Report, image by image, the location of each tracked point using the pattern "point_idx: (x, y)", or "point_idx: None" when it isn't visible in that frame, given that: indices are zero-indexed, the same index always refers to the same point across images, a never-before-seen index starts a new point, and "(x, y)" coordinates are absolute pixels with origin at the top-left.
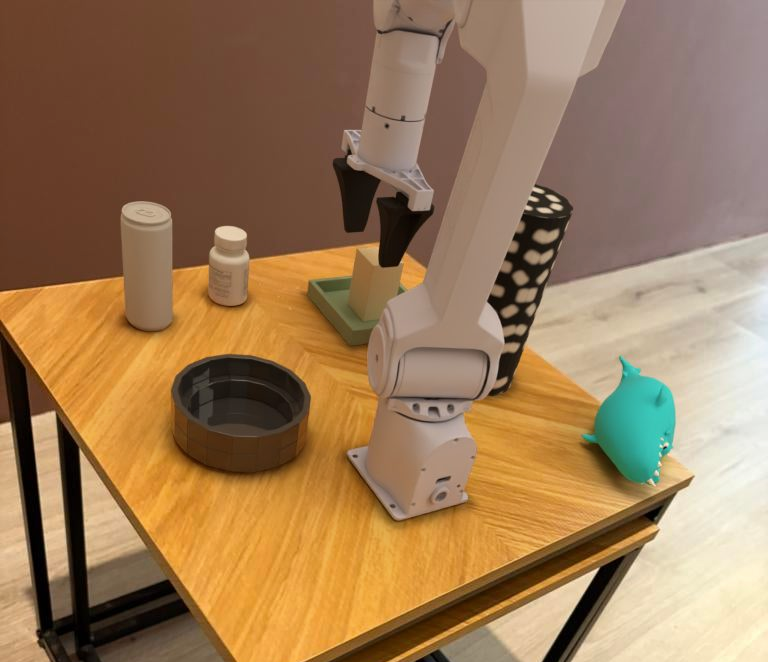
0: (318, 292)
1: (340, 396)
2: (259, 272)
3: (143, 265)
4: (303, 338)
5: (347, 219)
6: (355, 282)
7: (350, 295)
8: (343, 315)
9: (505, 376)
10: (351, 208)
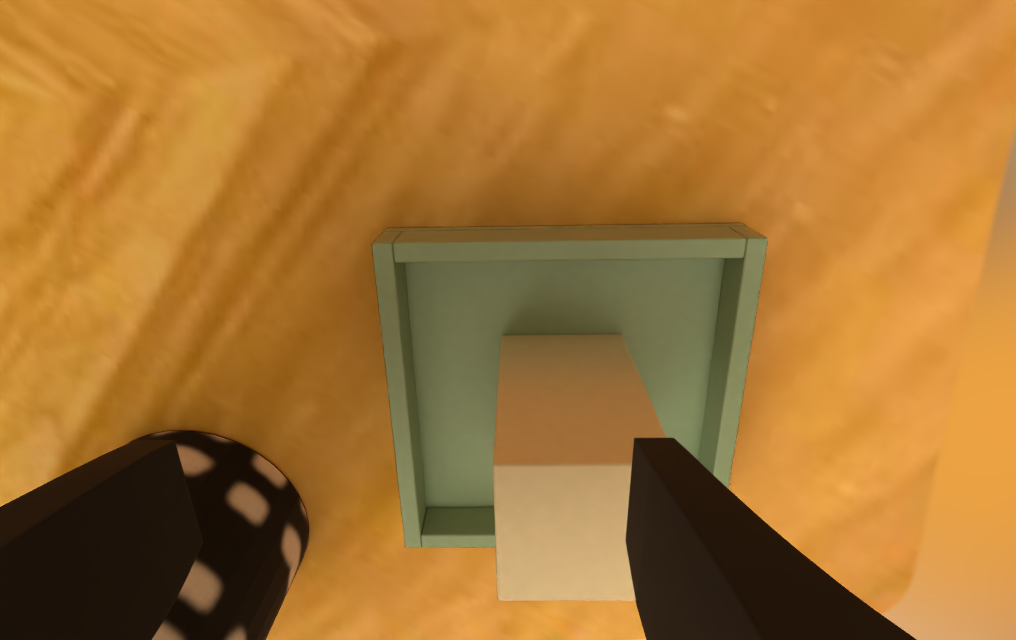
0: (672, 238)
1: (87, 42)
2: (972, 102)
3: None
4: (466, 71)
5: (661, 491)
6: (607, 382)
7: (617, 351)
8: (479, 256)
9: None
10: (696, 585)
